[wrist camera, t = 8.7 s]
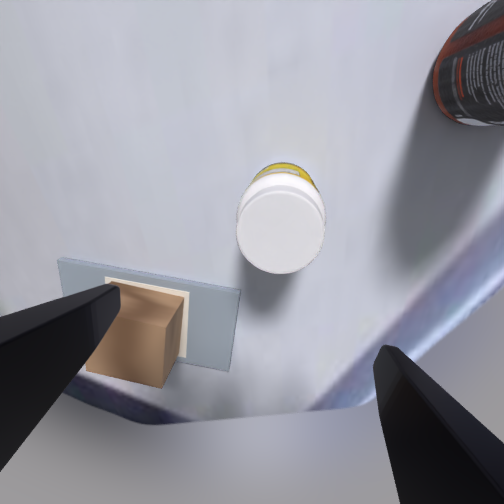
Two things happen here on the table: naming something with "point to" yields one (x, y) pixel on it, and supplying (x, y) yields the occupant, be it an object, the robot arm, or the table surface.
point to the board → (194, 311)
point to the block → (141, 337)
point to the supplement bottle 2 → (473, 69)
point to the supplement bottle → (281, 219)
